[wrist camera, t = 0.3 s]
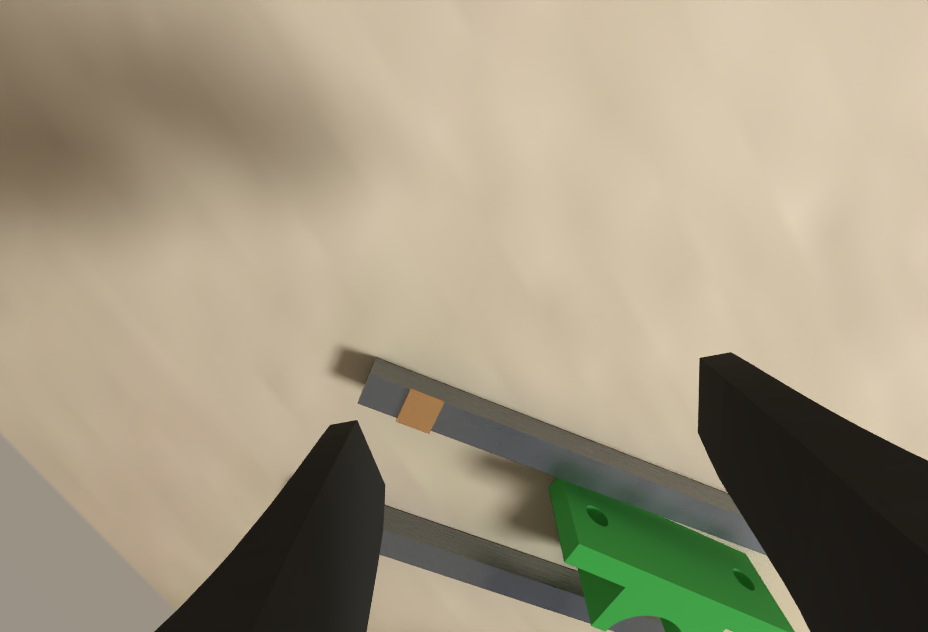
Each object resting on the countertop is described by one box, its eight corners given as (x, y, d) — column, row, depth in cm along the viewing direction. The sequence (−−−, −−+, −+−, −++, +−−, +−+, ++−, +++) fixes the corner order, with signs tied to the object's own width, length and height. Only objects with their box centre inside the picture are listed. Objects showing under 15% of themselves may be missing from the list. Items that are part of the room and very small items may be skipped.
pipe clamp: (520, 520, 25) (530, 602, 21) (559, 467, 24) (578, 543, 20) (700, 598, 27) (742, 688, 23) (745, 552, 26) (799, 638, 22)
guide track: (691, 634, 28) (704, 665, 26) (313, 507, 25) (303, 533, 23) (794, 518, 25) (816, 545, 23) (376, 356, 22) (369, 375, 20)
